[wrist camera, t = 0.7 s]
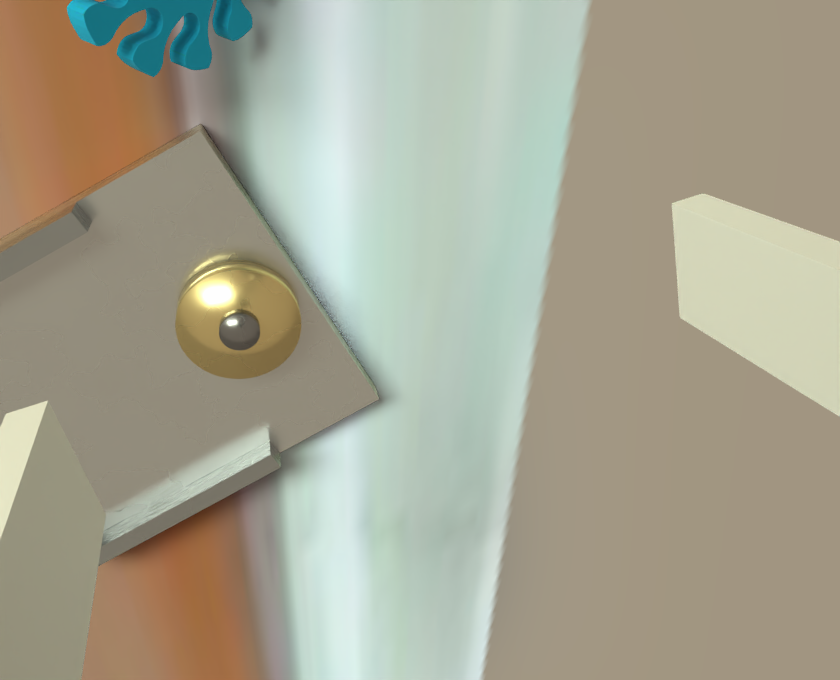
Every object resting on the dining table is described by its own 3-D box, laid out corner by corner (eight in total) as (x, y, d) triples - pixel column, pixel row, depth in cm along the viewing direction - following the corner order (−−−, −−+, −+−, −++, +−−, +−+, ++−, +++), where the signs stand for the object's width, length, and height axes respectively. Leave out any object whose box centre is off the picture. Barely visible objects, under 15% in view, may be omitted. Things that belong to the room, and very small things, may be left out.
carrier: (200, 123, 33) (198, 142, 30) (375, 386, 41) (385, 418, 39) (-152, 326, 34) (-183, 361, 31) (89, 542, 42) (80, 583, 40)
